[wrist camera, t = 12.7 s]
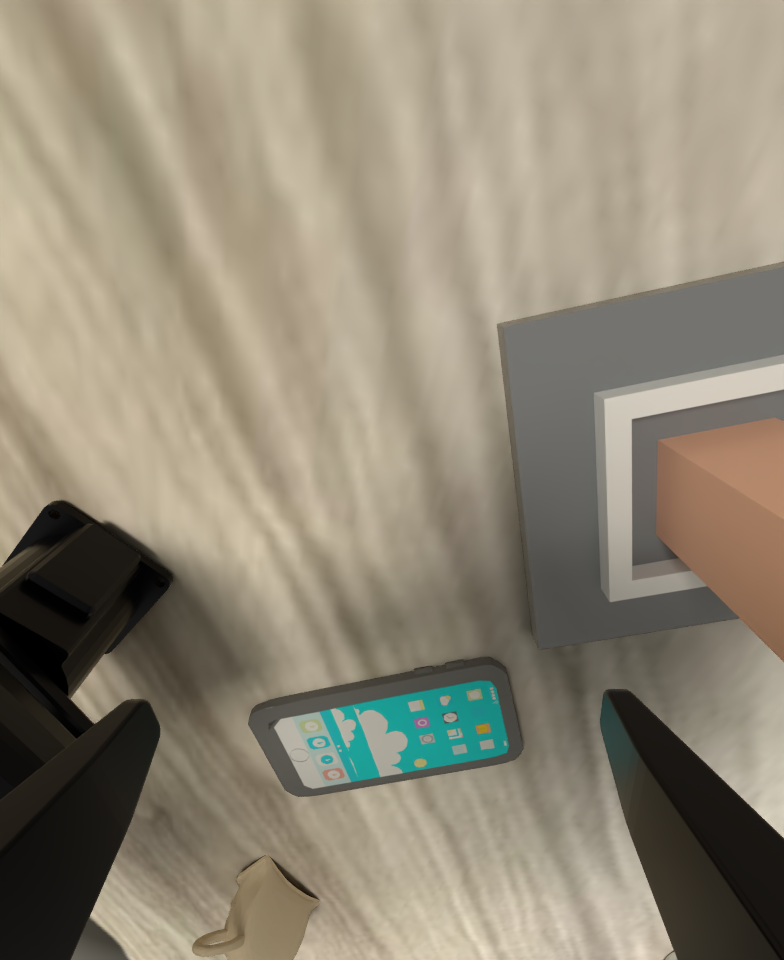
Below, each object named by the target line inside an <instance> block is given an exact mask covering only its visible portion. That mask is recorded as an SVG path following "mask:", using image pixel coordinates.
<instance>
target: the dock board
mask: <svg viewBox="0 0 784 960" xmlns="http://www.w3.org/2000/svg"><path fill="white" fill-rule="evenodd" d="M497 328H498V337H499V346H500V355H501V363H502V372H503V381H504V390H505V398H506V407H507V416H508V425H509V434H510V442H511V451H512V460H513V469H514V478H515V486H516V495H517V504H518V513H519V521H520V530H521V539H522V548H523V557H524V565H525V574H526V583H527V592H528V601H529V609H530V618H531V627H532V634H533V637H534V639H535V642H536V644H537V647H538V649H539V650H542V649H549V648H555V647H561V646H568V645H574V644H580V643H587V642H593V641H599V640H605V639H612V638H618V637H624V636H631V635H637V634H643V633H650V632H656V631H662V630H668V629H675V628H681V627H687V626H694V625H700V624H706V623H713V622H719V621H725V620H731V619H738V618H739V617H738V616H737V615H736V614H735V613H734V612H733V611H732V610H731V609H730V608H729V607H728V606H727V605H726V604H725V603H724V602H723V601H722V600H721V599H720V598H719V597H718V596H717V595H716V594H715V593H714V592H713V591H712V590H711V589H710V588H709V587H708V586H707V585H706V584H705V583H704V582H703V581H702V580H701V579H700V578H699V577H698V576H697V575H696V574H695V573H694V572H693V571H692V570H691V569H690V568H689V567H688V566H687V565H686V564H685V563H684V562H683V561H682V560H681V559H680V558H679V557H678V556H677V555H676V554H675V553H674V552H673V551H672V550H671V549H670V548H669V547H668V546H667V545H666V544H665V543H664V542H663V541H662V540H661V539H660V538H659V537H658V536H657V535H656V515H657V463H658V440H661V439H666V438H672V437H677V436H682V435H687V434H693V433H698V432H703V431H708V430H713V429H719V428H724V427H729V426H734V425H739V424H745V423H750V422H755V421H760V420H766V419H771V418H777V419H780V420H782V421H784V262H781V263H776V264H772V265H767V266H763V267H758V268H753V269H749V270H744V271H739V272H735V273H730V274H726V275H721V276H716V277H712V278H707V279H702V280H698V281H693V282H689V283H684V284H679V285H675V286H670V287H665V288H661V289H656V290H652V291H647V292H642V293H638V294H633V295H628V296H624V297H619V298H615V299H610V300H605V301H601V302H596V303H591V304H587V305H582V306H578V307H573V308H568V309H564V310H559V311H554V312H550V313H545V314H541V315H536V316H531V317H527V318H522V319H517V320H513V321H508V322H504V323H499V324H497Z"/></svg>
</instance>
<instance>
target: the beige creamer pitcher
mask: <svg viewBox="0 0 784 960" xmlns="http://www.w3.org/2000/svg"><path fill="white" fill-rule="evenodd" d="M236 882H237V883H238V885H239V887H240V888H239V890H238V892H237V894H236V896H235V898H234V900H232V902H231V909H230V912H229V916H228V918H227V920H226V923H225V929H222V930H217V931H214V932H211V933H208V934H206V935H204V936H202V937H200V938H198V939H197V940H196V941H195V942H194V944H193V946H192V951H193V953H194V954H195V955H197V956H201V957H209V956H215V955H221V954H225V956H226V957H227V960H293V959H294V957H295V956H296V954H297V952H298V949H299V947H300V945H301V943H302V940H303V937H304V934H305V930H306V927H307V923H308V919H309V916H310V912H311V911H312V910H313V909H314V908H315V907H317V905H318V904H319V902H320V900H318V899H315V898H312V897H310V896H308V895H306V894H304V893H303V892H301V891H300V890H298V889H297V888H296V887H294V886H293V885H292V884H291V883H290V882H289V881H288V880H287V879H286V878H285V877H284V876H283V875H282V873H281V872H280V871H279V869H278V868H277V867H276V865H275V864H274V862H273V861H272V859H271V858H270V857H269V856H267V855H265V856H263V857H262V858H261V859H259V860H258V861H257V862H255V863H254V864H253V865H251V866H250V867H248V868H247V869H246V870H245V871H243V872H241V873H240V874H239V875H238V877H237V881H236ZM220 941H225V942H223V943H219V944H215V945H208V944H211V943H214V942H220Z"/></svg>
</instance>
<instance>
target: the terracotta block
mask: <svg viewBox="0 0 784 960" xmlns="http://www.w3.org/2000/svg"><path fill="white" fill-rule="evenodd" d="M656 535H657V536H658V537H659V538H660V539H661V540H662V541H663V542H664V543H665V544H666V545H667V546H668V547H669V548H670V549H671V550H672V551H673V552H674V553H675V554H676V555H677V556H678V557H679V558H680V559H681V560H682V561H683V562H684V563H685V564H686V565H687V566H688V567H689V568H690V569H691V570H692V571H693V572H694V573H695V574H696V575H697V576H698V577H699V578H700V579H701V580H702V581H703V582H704V583H705V584H706V585H707V586H708V587H709V588H710V589H711V590H712V591H713V592H714V593H715V594H716V595H717V596H718V597H719V598H720V599H721V600H722V601H723V602H724V603H725V604H726V605H727V606H728V607H729V608H730V609H731V610H732V611H733V612H734V613H735V614H736V615H737V616H738V617H739V618H740V619H741V620H742V621H743V622H744V623H745V624H746V625H747V626H748V627H749V628H750V629H751V630H752V631H753V632H754V633H755V634H756V635H757V636H758V637H759V638H760V639H761V640H762V641H763V642H764V643H765V644H766V645H767V646H768V647H769V648H770V649H771V650H772V651H773V652H774V653H775V654H776V655H777V656H778V657H779V658H780V659H781V660H782V661H783V662H784V421H782V420H780V419H777V418H771V419H766V420H760V421H755V422H750V423H745V424H739V425H734V426H729V427H724V428H719V429H713V430H708V431H703V432H698V433H693V434H687V435H682V436H677V437H672V438H666V439H661V440H658V463H657V515H656Z"/></svg>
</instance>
